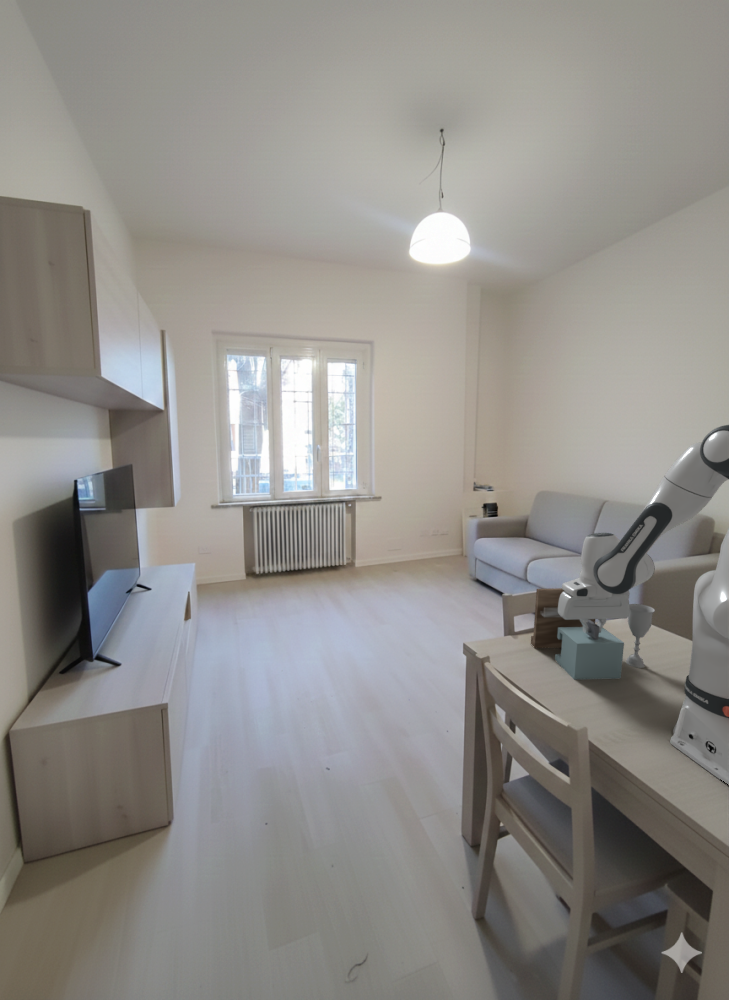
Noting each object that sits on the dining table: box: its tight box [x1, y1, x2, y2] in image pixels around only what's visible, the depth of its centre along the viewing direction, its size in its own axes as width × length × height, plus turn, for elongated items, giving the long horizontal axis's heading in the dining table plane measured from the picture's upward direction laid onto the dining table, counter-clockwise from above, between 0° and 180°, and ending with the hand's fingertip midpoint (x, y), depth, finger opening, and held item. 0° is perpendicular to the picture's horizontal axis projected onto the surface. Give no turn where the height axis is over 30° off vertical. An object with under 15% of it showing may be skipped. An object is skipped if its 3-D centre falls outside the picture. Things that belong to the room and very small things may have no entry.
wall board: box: [530, 587, 596, 649], centre depth 146 cm, size 6×20×20 cm, turn 94°
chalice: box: [625, 603, 656, 669], centre depth 136 cm, size 7×7×18 cm
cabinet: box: [554, 620, 625, 680], centre depth 133 cm, size 11×14×15 cm
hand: (591, 632), depth 132 cm, fingers closed
